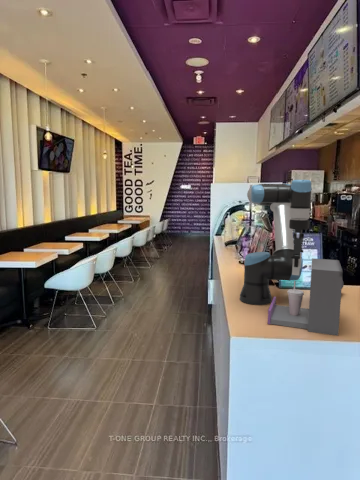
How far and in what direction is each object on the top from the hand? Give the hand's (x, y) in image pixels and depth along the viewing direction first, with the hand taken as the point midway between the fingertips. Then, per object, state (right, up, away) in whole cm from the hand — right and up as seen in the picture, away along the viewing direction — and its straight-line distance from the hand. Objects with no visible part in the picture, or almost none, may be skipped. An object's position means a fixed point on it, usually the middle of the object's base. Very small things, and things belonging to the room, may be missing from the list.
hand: (296, 271), depth 141 cm
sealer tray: (-2, -20, +3) cm, 20 cm away
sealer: (+10, -21, -1) cm, 23 cm away
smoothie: (0, -18, +2) cm, 18 cm away
